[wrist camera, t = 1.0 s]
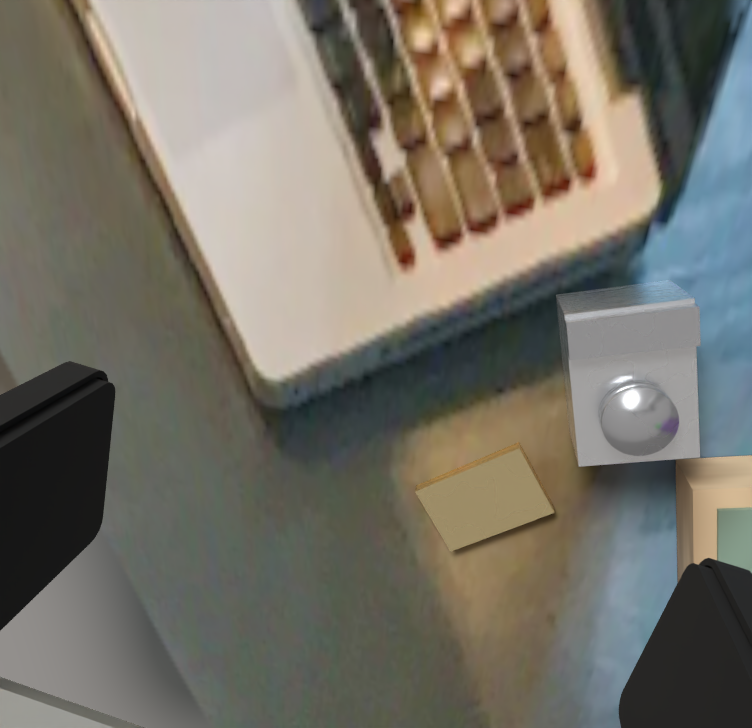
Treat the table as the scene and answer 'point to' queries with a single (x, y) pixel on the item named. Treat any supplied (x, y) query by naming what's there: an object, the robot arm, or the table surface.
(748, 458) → the picture frame
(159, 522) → the table surface
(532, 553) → the table surface
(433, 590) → the table surface
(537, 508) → the cover plate
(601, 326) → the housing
